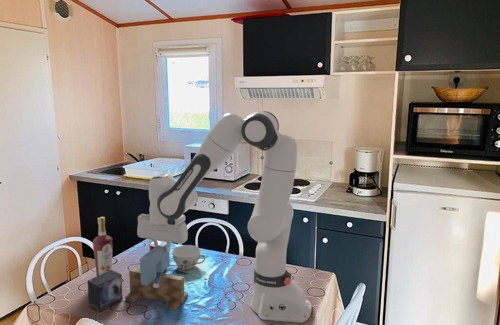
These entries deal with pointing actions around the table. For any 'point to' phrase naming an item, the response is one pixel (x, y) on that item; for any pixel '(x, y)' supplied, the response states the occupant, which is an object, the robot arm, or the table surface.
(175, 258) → the teacup
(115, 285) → the small box
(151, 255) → the blue-gray flat plate
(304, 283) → the table surface
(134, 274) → the walnut slotted board
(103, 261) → the liquor
